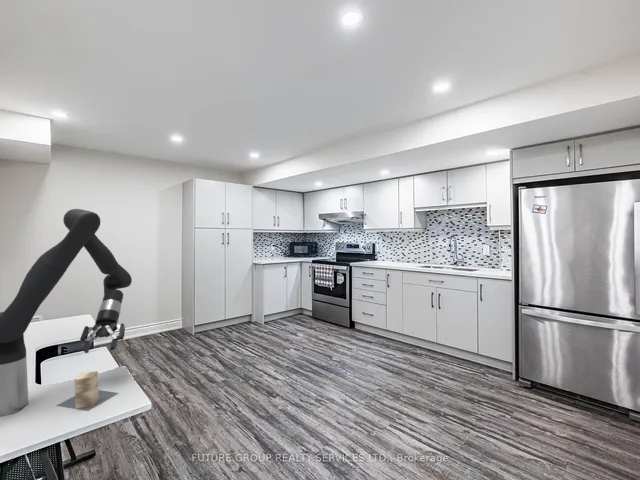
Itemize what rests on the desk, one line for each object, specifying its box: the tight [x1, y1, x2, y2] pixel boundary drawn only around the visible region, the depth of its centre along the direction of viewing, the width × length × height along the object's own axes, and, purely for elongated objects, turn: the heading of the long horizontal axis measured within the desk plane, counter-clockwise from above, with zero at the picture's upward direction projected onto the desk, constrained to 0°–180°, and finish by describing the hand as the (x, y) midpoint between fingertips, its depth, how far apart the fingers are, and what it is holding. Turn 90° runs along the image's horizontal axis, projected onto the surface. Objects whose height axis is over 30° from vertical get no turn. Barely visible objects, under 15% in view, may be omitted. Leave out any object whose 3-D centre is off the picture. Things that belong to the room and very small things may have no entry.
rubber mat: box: [56, 389, 119, 412], centre depth 115 cm, size 14×12×1 cm
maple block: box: [74, 370, 99, 410], centre depth 112 cm, size 5×5×10 cm
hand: (99, 350), depth 122 cm, fingers open, 8 cm apart
